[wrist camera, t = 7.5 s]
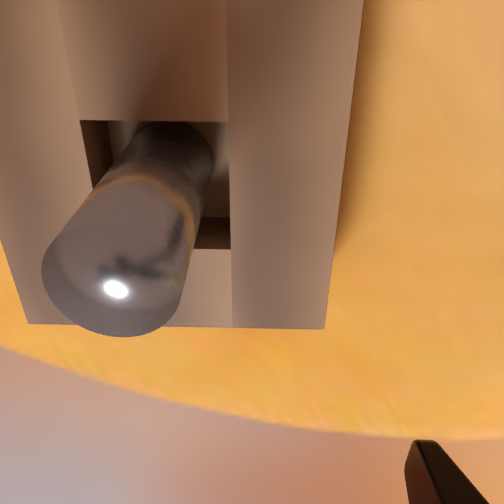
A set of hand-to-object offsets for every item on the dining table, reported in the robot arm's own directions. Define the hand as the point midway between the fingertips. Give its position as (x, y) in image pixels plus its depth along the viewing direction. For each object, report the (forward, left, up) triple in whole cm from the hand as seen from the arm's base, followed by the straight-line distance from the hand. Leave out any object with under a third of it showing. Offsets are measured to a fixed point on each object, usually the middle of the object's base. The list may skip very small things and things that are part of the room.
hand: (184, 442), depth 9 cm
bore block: (+2, -2, -12) cm, 12 cm away
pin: (+2, -2, -11) cm, 11 cm away
